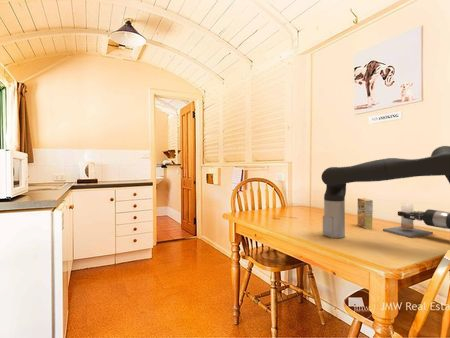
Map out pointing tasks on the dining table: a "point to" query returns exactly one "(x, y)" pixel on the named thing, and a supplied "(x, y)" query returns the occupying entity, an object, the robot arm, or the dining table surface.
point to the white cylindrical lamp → (405, 222)
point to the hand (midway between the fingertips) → (402, 212)
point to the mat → (407, 232)
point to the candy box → (365, 213)
